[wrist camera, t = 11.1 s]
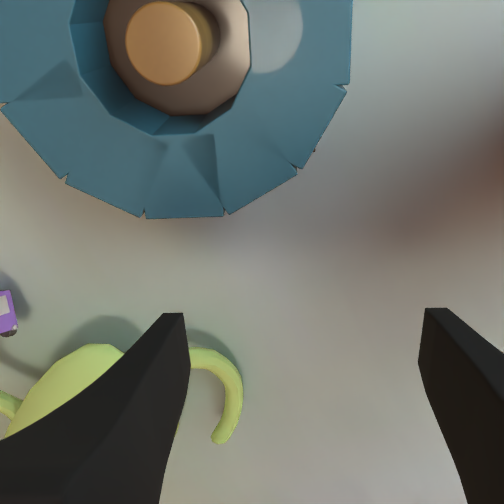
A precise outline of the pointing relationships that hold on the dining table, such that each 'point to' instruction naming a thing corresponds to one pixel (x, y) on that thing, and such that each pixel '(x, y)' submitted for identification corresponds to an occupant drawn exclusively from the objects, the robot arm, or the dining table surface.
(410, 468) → the dining table surface
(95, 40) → the ring
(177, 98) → the peg stand
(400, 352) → the dining table surface
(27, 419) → the figurine
